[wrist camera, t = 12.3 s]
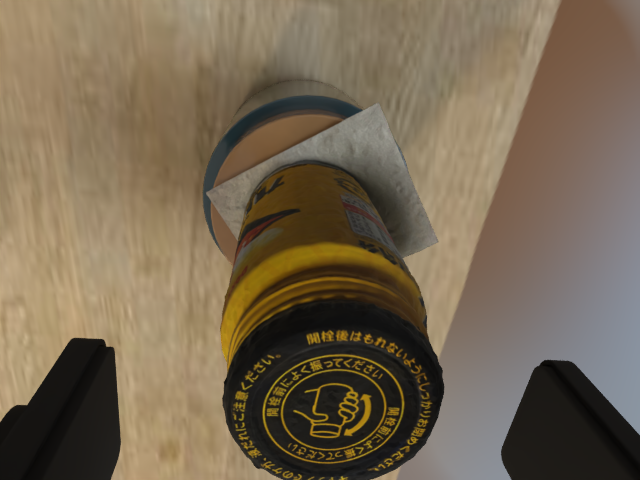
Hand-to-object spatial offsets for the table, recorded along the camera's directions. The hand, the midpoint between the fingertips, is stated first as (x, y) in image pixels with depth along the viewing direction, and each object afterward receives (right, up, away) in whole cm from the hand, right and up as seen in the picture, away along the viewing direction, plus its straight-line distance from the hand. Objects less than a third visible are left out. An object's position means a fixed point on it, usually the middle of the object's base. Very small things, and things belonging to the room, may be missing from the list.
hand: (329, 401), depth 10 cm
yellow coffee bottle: (0, +5, +11) cm, 12 cm away
